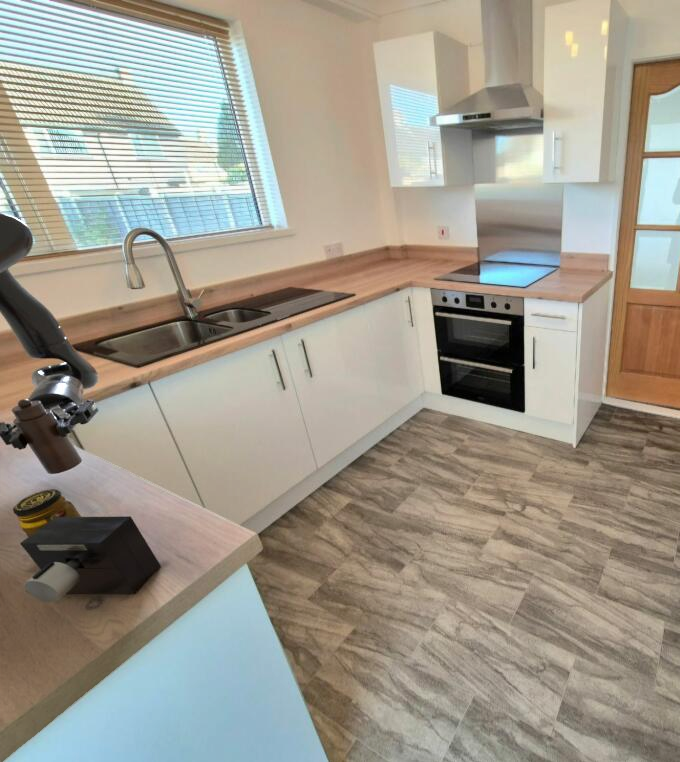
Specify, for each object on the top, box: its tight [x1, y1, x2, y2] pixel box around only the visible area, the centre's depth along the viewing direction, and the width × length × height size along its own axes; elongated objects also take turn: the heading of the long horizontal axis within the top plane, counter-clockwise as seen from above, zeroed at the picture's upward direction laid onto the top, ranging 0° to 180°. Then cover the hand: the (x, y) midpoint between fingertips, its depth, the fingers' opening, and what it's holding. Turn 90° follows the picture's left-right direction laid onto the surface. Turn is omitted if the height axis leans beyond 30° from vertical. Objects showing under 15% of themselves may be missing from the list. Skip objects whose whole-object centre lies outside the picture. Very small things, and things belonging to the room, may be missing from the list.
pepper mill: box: [11, 398, 83, 475], centre depth 77 cm, size 5×5×14 cm
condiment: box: [12, 488, 82, 538], centre depth 69 cm, size 7×8×12 cm
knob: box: [23, 558, 81, 603], centre depth 59 cm, size 5×4×5 cm
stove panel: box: [19, 515, 162, 595], centre depth 63 cm, size 5×12×11 cm, turn 87°
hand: (40, 438), depth 75 cm, fingers closed on pepper mill, 5 cm apart
